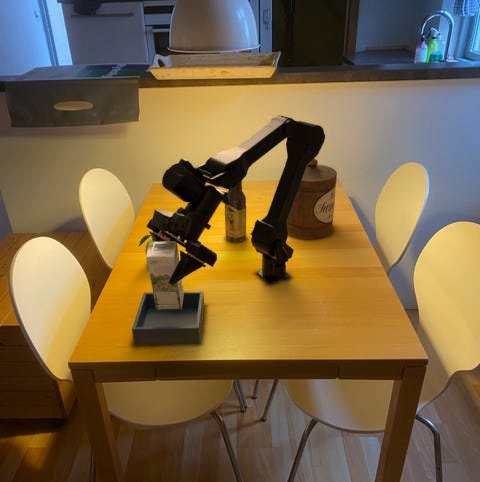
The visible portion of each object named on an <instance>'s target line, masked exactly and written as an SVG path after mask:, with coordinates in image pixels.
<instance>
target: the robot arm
mask: <svg viewBox="0 0 480 482" xmlns="http://www.w3.org/2000/svg"><path fill="white" fill-rule="evenodd" d="M285 140H286V141H285ZM325 140H326V133H325V129H324V128H323V126H321V125H319V124H315V123H311V122H306V121H302V120H295V119H294V118H292V117H288V116H285V115H280V114H278V115H275V116H273V117H272V118H271V120H270V121H269V122H268V123H266V124H265V125H264V126H262V127H261V128H260V129H259V130H256V132H254V133H253V134H252V135H251V136H249V137H248V138H247V139H246V140H244V141H243V142H241V143H240V144H239V145H237V146H236V147H234V148H231V149H227V150H222V151H220V152H219V153H216V154H213V155H212V156H210V157H209V158H208V159H207V160H206V161H205V162H204V163H202V164H200V165H198V166H194V165H193V164H192V163H191V161H190V160H187V159H185V158H180V159H179V161H178V162H177V163H173V164H172V165H171V166H170V167H168V168H167V169H166V170H165V171H164V173H163V175H162V178H161V183H162V187H163V188H164V189H165V190H167V191H168V192H170V193H171V194H172V195H174V196H175V197H177V198H178V199H179V200H181V201H182V202H184V203H187V204H186V205H185V207H184V208H183V207H182V206H180V207H178V208H177V210H176V211H175V212H174V211H171V210H165V209H158V208H155V209H154V211H153V215H152V218H151V219H149V221H148V223H147V225H146V228H147V229H149V230H150V231H149V235H151V236H150V237H151V239H152V240H153V242H164V241H176V242H177V245H179V246H181V247H182V248H184V250H185V252H184V251H182V250H179V263H178V265H177V267H176V268H175V270H174V272H173V274H172V276H171V278H170V281H169V283H170V284H171V285H174V284H175V283H177V282H178V281H180V280H181V279H182V280H183V279H184V278H186V277H188V276H189V275H190V274H192V273H194V272H196V271H197V270H199V269H201V268H206V267H207V265H208V266H210V267H211V268H214V266H215V264H216V262H217V261H218V253H216V252H215V251H213V250H211V248H208V247H207V246H205V245H204V244H202V242H201V241H199V239H200V237H201V236H202V234H203V233H204V231H205V229H206V230H207V231H210V229H211V227H212V225H211V224H209V223H210V221H211V219H212V217H213V216H214V214H215V213H216V211H217V209H218V207H219V206H220V205H221V204H224V205H225V204H226V205H229V199H228V196H227V194H228V191H226V190H231V189H233V188H235V187H236V186H237V185H238V184H239V183H240V182H241V181H242V182H243V180H244V179H245V178H246V177H247V175H248V172H249V169H250V168H251V167H252V165H254V164H255V163H256V162H257V161H259V160H260V159H261V158H263V157H264V156H266V154H268V153H269V152H270V151H272V150H273V149H274V148H275V147H277V146H278V145H279V144H280V143H282V142H283V141H285V150H286V151H285V152H286V160H285V164H284V166H283V169H282V172H281V175H280V177H279V180H278V184H277V185H276V189H275V191H274V194H273V198H272V200H271V203H270V206H269V208H268V211H267V214H266V216H264V217H262V219H261V220H259V219H256V220H255V222H254V226H253V230H252V231H251V232H250V236H251V238H250V243H251V245H252V247H253V248H254V249H255V252H256V253H259V254H261V269H260V270H257V271H256V274H257V275H258V276H259V277H261V278H262V279H263V280H264V281H265V282H266V283H267V284H270V285H271V284H274V283H277V282H280V281H283V280H286V279H289V278H291V274H289V273H288V272H287V264H286V263H288V262H289V261H290V259H292V258H293V255H294V251H295V250H294V248H292V246H290V245H289V244H288V243H287V241H288V237H289V234H288V231H287V224H286V222H287V218H288V216H289V213H290V210H291V208H292V205H293V202H294V199H295V197H296V194H297V191H298V189H299V186H300V183H301V180H302V178H303V175H304V172H305V169H306V167H307V165H308V164H309V163H310V162H311V161H312V160H313V159H314V158H315V159H316V158H317V157H318V156H319V154H320V151H321V149H322V147H323V145H324V143H325ZM206 184H207V185H206ZM219 187H220V188H222V189H218V188H219ZM223 189H224V190H223Z"/></svg>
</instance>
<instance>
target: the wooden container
mask: <svg viewBox="0 0 480 482" xmlns="http://www.w3.org/2000/svg"><path fill="white" fill-rule="evenodd" d="M337 179H338V171H337V170H336V169H335V168H333V167H331V166H328V165H323V164H319V163H318V159H316V157H315V158H314V159H313V160H312V161H311V162H310V163H309V164H308V165H307V167H306V169H305V172H304V175H303V178H302V180H301V183H300V186H299V189H298V191H297V194H296V197H295V199H294V202H293V205H292V208H291V210H290V213H289V216H288V218H287V222H286V224H287V231H288V236H291V237H293V238H296V239H301V240H318V239H322V238H325V237H328V236H329V235H331V233H332V231H333V224H334V215H335V203H336V189H337V187H336V185H337Z"/></svg>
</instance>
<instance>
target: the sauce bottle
mask: <svg viewBox="0 0 480 482" xmlns="http://www.w3.org/2000/svg"><path fill="white" fill-rule="evenodd" d="M227 190H228V191H227V193H228V194H227V196H228V199H229V205H226V204H224V229H225V231H224V232H225V238H226V239H227V241H230V242H233V243H234V242H235V243H236V242H242V241H244V240H246V237H247V236H246V235H247V197H246V194H245V192H243V180H242V181H241V182H240V183H239V184H238V185H237V186H236V187H235V188H233V189H231V190H229V189H227Z"/></svg>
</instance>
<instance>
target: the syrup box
mask: <svg viewBox="0 0 480 482" xmlns="http://www.w3.org/2000/svg"><path fill="white" fill-rule="evenodd" d="M145 258H146V259H145V260H146V264H147V269H148V273H149V279H150V285H151V289H152V292H153V295H154V300H155V305H156V310H179V309H182V304H183V297H184V292H185V290H184V285H183V279H181V280H180V281H178V282H177V283H175V284H174V285H171V284H170V283H169V281H170V278H171V276H172V274H173V272H174V270H175V268H176V267H177V265H178V263H179V261H180V252H179V246H178V243H177V242H176V241H164V242H150V244H149V247H148V251H147V255H146V254H145Z"/></svg>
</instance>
